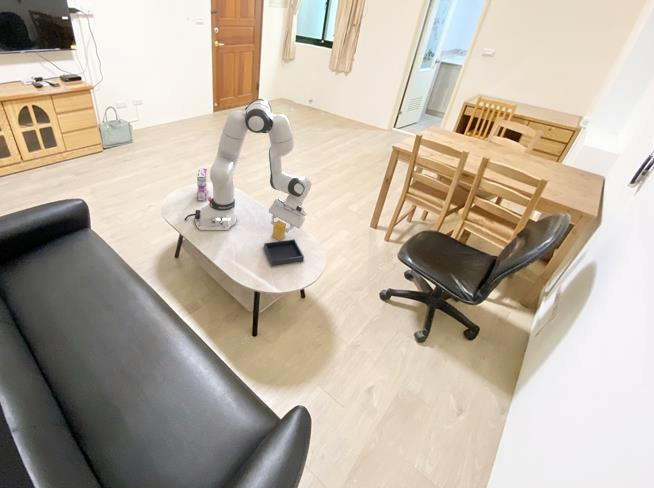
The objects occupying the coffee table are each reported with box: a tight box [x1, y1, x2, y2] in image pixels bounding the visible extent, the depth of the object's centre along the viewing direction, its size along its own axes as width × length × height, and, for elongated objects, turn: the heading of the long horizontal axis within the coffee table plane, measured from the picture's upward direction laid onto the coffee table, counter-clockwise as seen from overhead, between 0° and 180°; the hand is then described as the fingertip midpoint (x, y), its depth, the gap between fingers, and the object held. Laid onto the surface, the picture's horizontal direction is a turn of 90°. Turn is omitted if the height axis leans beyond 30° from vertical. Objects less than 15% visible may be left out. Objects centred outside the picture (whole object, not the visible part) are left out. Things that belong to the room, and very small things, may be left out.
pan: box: [263, 238, 305, 267], centre depth 166 cm, size 16×13×4 cm
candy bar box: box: [196, 168, 208, 202], centre depth 199 cm, size 11×5×16 cm, turn 5°
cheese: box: [272, 219, 287, 241], centre depth 176 cm, size 5×4×9 cm
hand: (278, 228), depth 175 cm, fingers open, 8 cm apart
